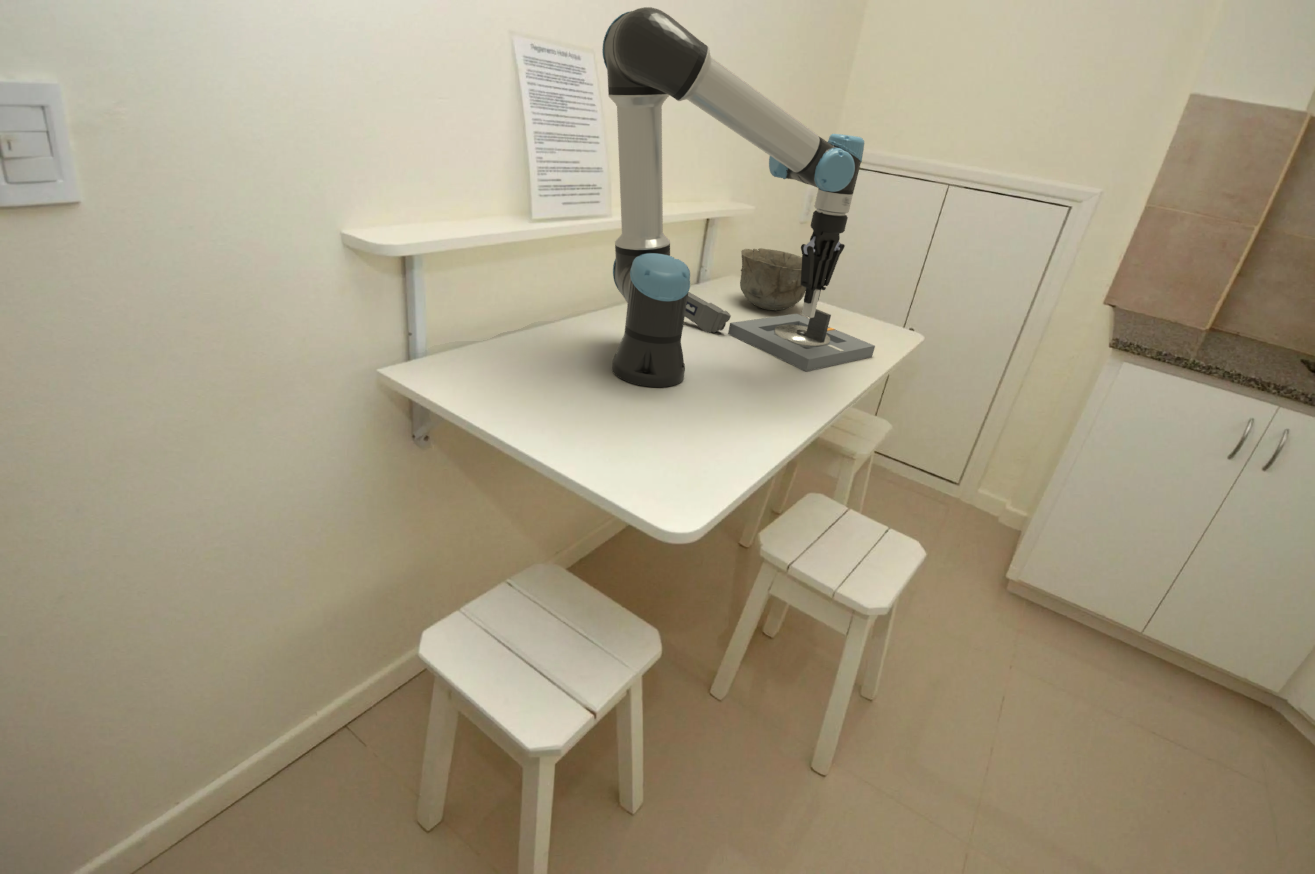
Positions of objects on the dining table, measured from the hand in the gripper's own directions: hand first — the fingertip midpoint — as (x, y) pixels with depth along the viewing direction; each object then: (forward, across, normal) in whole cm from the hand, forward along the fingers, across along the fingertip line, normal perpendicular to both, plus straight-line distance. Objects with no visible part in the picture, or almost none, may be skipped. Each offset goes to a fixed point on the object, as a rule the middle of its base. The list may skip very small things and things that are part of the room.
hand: (807, 315), depth 155 cm
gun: (+10, -13, +30) cm, 34 cm away
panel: (+10, +6, +5) cm, 13 cm away
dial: (+9, +6, +5) cm, 12 cm away
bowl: (+10, +24, +32) cm, 41 cm away
